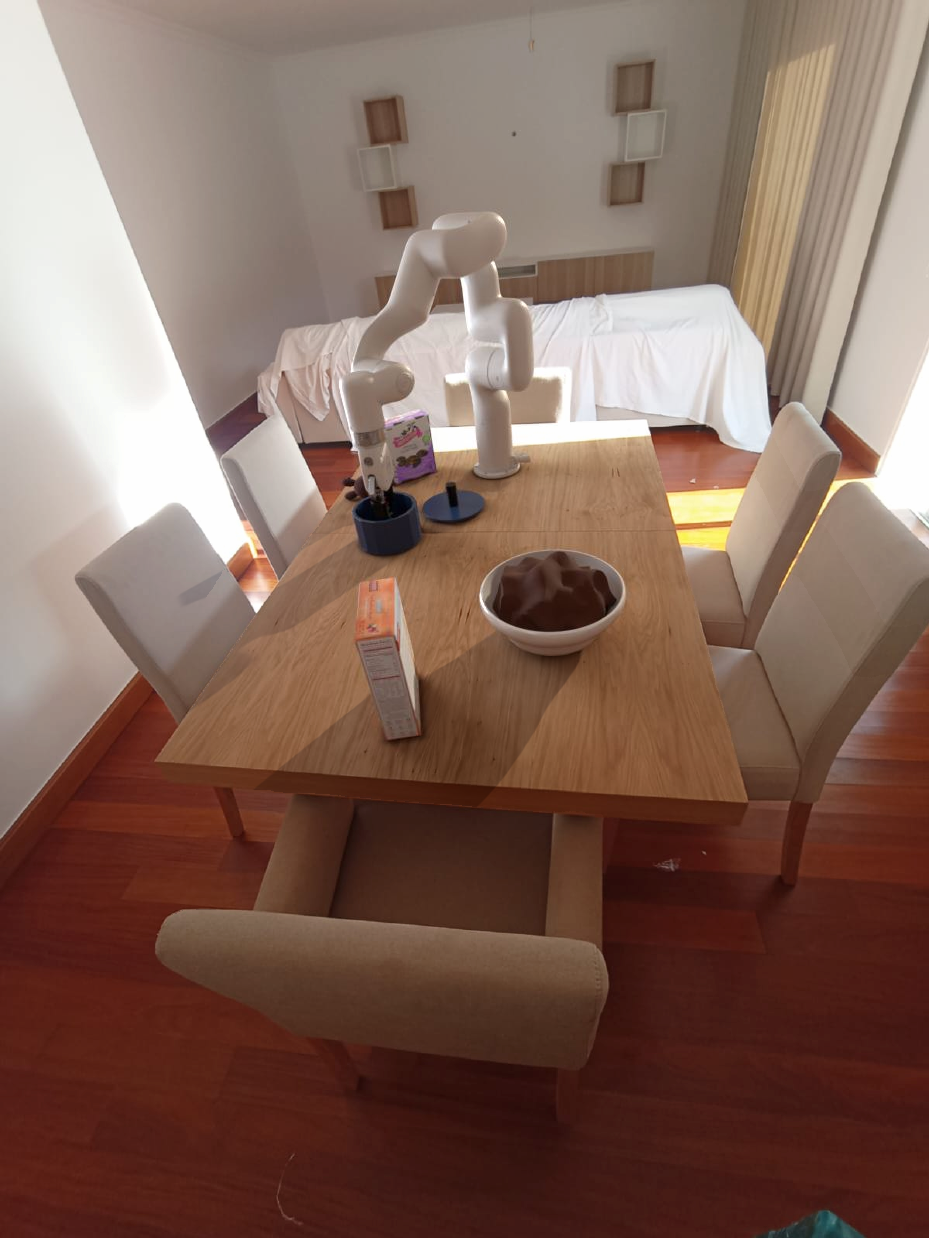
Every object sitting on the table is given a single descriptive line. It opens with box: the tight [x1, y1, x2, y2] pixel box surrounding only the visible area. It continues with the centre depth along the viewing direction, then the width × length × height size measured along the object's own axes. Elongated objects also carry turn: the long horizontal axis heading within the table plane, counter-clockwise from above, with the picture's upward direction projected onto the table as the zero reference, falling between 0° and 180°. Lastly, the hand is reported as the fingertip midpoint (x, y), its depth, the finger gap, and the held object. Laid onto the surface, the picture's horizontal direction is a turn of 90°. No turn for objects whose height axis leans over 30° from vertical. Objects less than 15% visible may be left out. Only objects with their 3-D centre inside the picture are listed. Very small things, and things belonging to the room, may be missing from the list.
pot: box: [351, 491, 423, 557], centre depth 138 cm, size 15×15×8 cm
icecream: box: [340, 475, 397, 501], centre depth 157 cm, size 7×7×15 cm
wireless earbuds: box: [372, 494, 393, 520], centre depth 136 cm, size 5×7×3 cm, turn 167°
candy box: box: [384, 408, 437, 486], centre depth 162 cm, size 14×6×16 cm, turn 119°
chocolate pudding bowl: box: [478, 549, 627, 657], centre depth 104 cm, size 25×25×15 cm
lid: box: [421, 481, 486, 523], centre depth 147 cm, size 16×16×7 cm
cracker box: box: [354, 576, 422, 741], centre depth 91 cm, size 14×6×21 cm, turn 5°
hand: (385, 509), depth 136 cm, fingers closed on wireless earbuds, 7 cm apart
